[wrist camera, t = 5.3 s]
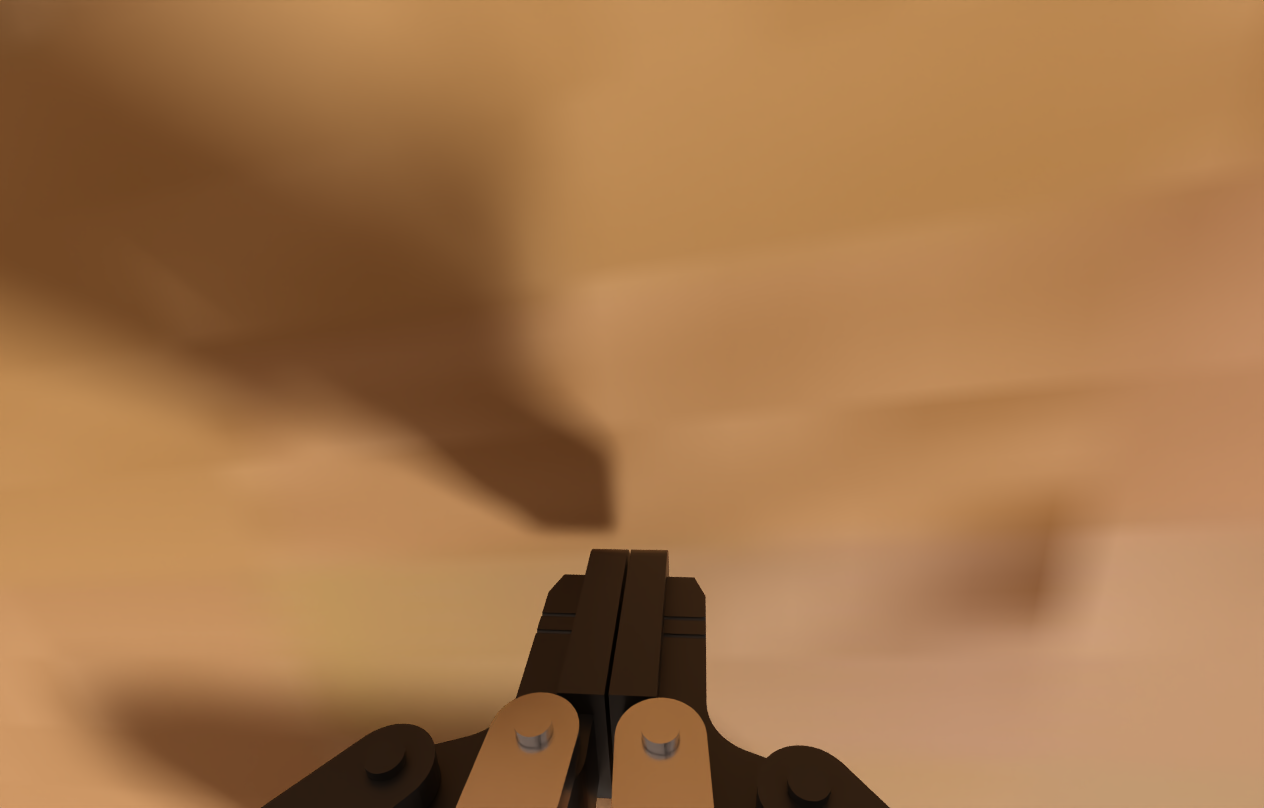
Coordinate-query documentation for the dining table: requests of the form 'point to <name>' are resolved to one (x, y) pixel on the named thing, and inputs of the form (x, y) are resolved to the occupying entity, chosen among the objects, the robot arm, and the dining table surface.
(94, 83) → the dining table surface
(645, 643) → the robot arm
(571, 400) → the dining table surface
